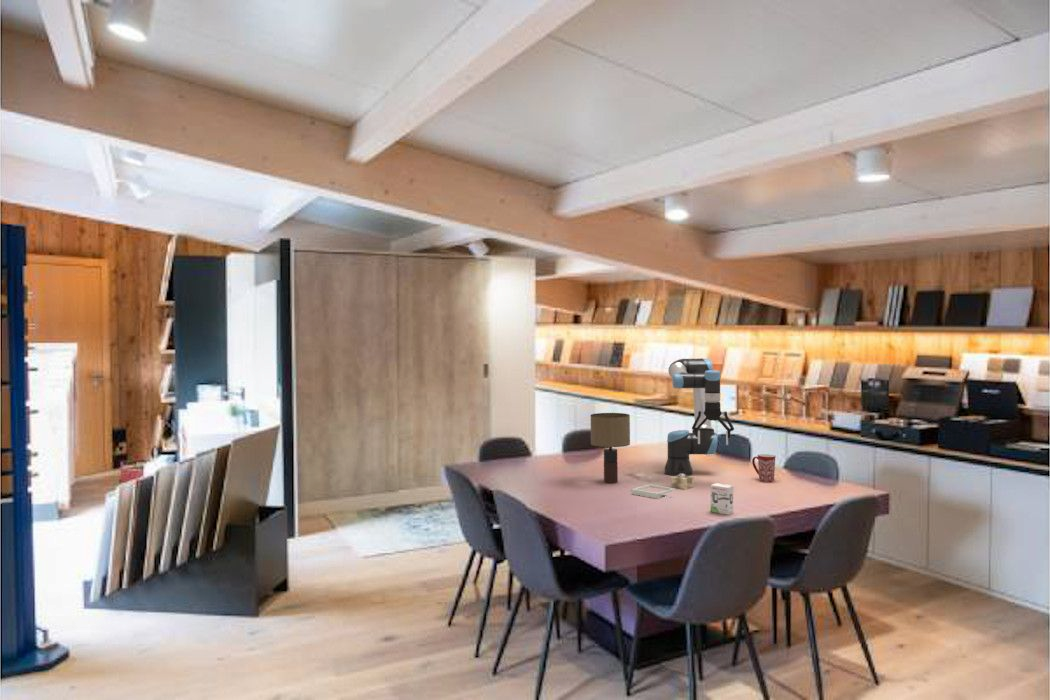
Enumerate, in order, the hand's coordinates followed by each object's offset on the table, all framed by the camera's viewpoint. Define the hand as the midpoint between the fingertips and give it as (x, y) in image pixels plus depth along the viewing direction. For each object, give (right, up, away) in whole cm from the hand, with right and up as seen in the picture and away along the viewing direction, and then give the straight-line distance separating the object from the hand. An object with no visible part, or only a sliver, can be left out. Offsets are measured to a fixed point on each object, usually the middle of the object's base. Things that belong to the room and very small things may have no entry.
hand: (712, 444), depth 355 cm
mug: (+30, -21, +16) cm, 40 cm away
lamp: (-49, -22, +17) cm, 56 cm away
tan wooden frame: (-16, -20, -4) cm, 26 cm away
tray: (-32, -22, -12) cm, 40 cm away
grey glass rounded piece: (-16, -22, -4) cm, 27 cm away
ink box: (-9, -23, -48) cm, 54 cm away
